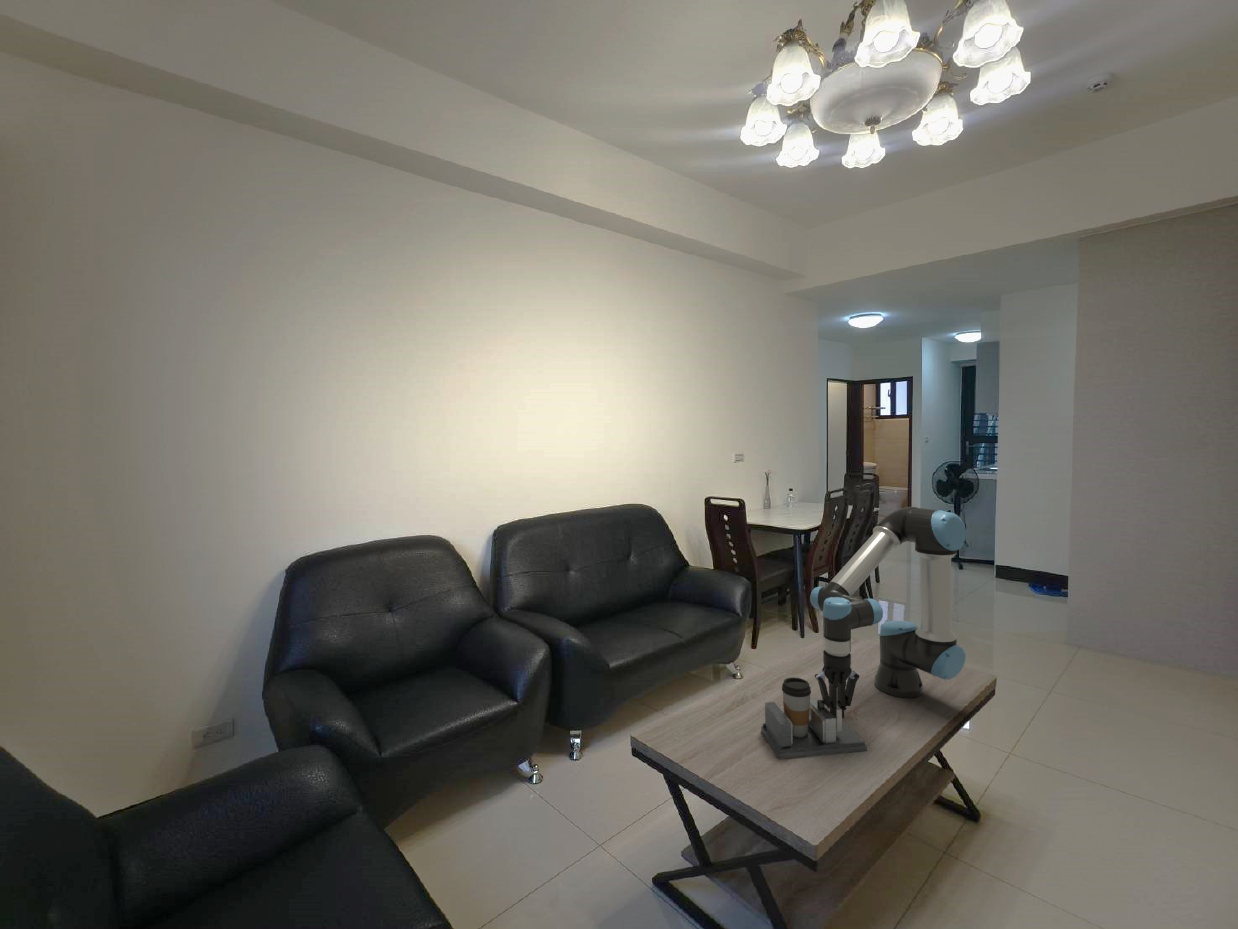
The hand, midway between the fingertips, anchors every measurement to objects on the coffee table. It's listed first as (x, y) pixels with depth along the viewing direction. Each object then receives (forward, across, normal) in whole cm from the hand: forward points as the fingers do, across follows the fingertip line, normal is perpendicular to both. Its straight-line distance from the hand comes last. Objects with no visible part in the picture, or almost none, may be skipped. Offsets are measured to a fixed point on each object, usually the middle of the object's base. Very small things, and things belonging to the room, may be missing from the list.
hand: (837, 728), depth 160 cm
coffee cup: (+2, +11, -3) cm, 12 cm away
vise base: (+3, +8, 0) cm, 8 cm away
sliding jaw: (+1, +5, 0) cm, 5 cm away
